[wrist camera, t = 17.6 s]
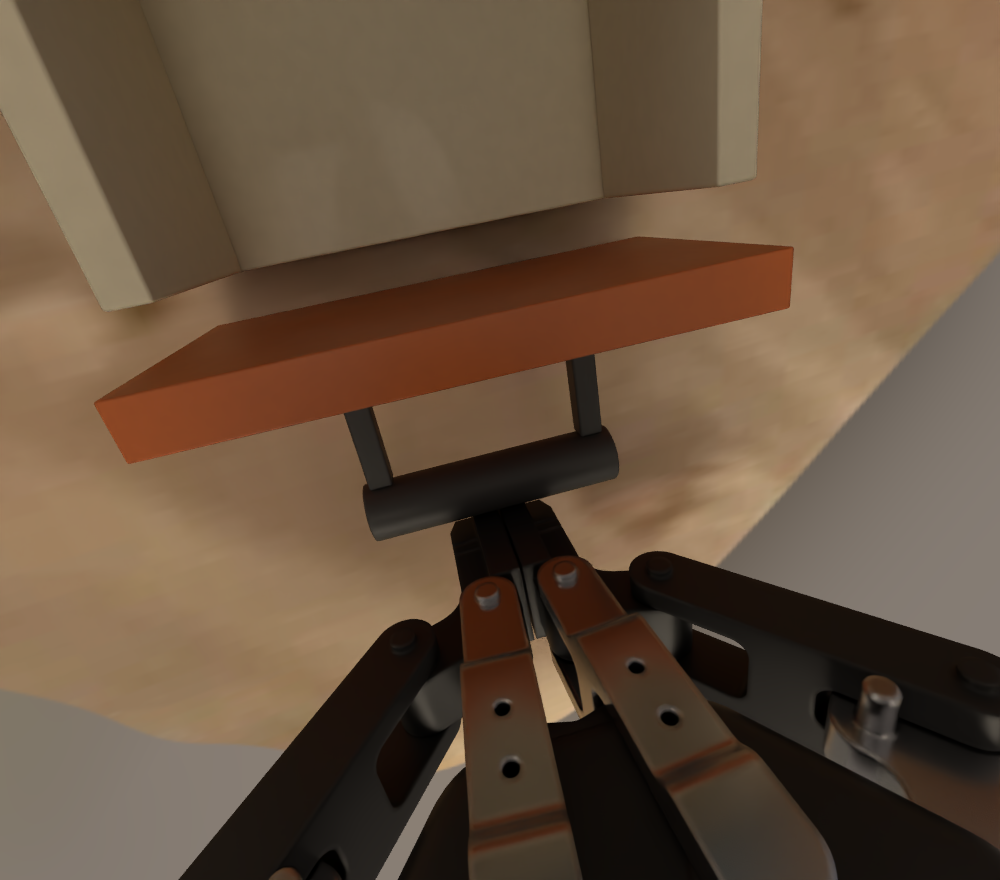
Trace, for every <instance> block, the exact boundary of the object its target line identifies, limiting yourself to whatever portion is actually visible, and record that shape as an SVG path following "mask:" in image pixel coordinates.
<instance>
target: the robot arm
mask: <svg viewBox="0 0 1000 880" xmlns="http://www.w3.org/2000/svg"><path fill="white" fill-rule="evenodd" d="M450 535H451V540H452V545H453V550H454V555H455V560H456V565H457V570H458V576H459V581H460V586H461V592H462V593H461V595H460V600H459V604H458V606H457V608H456V609H455V610H454V611H453V612H452V613H451V614H450V615H449V616H448V617H446V618H445V619H443V620H442V621H440V622H438V623H436V624H435V625H433V626H431V625H430V624H429V623H427V622H426V621H423V620H419V619H409V620H404V621H401V622H398V623H396V624H394V625H392V626H391V627H389V628H388V629H387V630H385V631H384V632H383V633H382V634H381V635H380V636H379V638H378V639H377V640H376V641H375V643H374V644H373V645H372V646H371V647H370V649H369V650H368V651H367V652H366V653H365V655H364V656H363V657H362V658H361V659H360V661H359V662H358V663H357V664H356V666H355V667H354V668H353V669H352V670H351V672H350V673H349V674H348V675H347V676H346V678H345V679H344V680H343V681H342V682H341V684H340V685H339V686H338V687H337V689H336V690H335V691H334V692H333V693H332V695H331V696H330V697H329V698H328V699H327V701H326V702H325V703H324V704H323V705H322V707H321V708H320V709H319V710H318V712H317V713H316V714H315V715H314V716H313V718H312V719H311V720H310V721H309V722H308V724H307V725H306V726H305V727H304V728H303V730H302V731H301V732H300V733H299V735H298V736H297V737H296V738H295V739H294V741H293V742H292V743H291V744H290V745H289V747H288V748H287V749H286V750H285V751H284V753H283V754H282V755H281V757H280V758H279V759H278V760H277V761H276V762H275V764H274V765H273V766H272V767H271V769H270V770H269V771H268V772H267V773H266V774H265V776H264V777H263V778H262V779H261V781H260V782H259V783H258V784H257V785H256V787H255V788H254V789H253V790H252V791H251V793H250V794H249V795H248V796H247V798H246V799H245V800H244V801H243V802H242V804H241V805H240V806H239V807H238V808H237V810H236V811H235V812H234V813H233V814H232V816H231V817H230V818H229V819H228V821H227V822H226V823H225V824H224V825H223V827H222V828H221V829H220V830H219V832H218V833H217V834H216V835H215V836H214V837H213V839H212V840H211V841H210V842H209V844H208V845H207V846H206V847H205V848H204V850H203V851H202V852H201V853H200V854H199V856H198V857H197V858H196V859H195V860H194V862H193V863H192V864H191V865H190V866H189V868H188V869H187V870H186V872H185V873H184V874H183V875H182V876H181V877H180V879H179V880H375V879H376V878H377V876H378V874H379V872H380V870H381V869H382V867H383V865H384V863H385V862H386V860H387V858H388V856H389V854H390V853H391V851H392V849H393V847H394V845H395V844H396V842H397V840H398V838H399V836H400V835H401V833H402V831H403V829H404V827H405V826H406V824H407V822H408V820H409V818H410V817H411V815H412V813H413V811H414V810H415V808H416V806H417V804H418V802H419V801H420V799H421V797H422V795H423V793H424V792H425V790H426V788H427V786H428V785H429V783H430V781H431V779H432V777H433V776H434V774H435V772H436V770H437V769H438V767H439V765H440V763H441V761H442V760H443V758H444V756H445V754H446V752H447V751H448V749H449V747H450V745H451V743H452V742H453V740H454V738H455V736H456V735H457V733H458V730H459V728H460V724H461V718H462V717H463V730H464V746H465V762H466V767H465V768H463V769H462V770H461V771H460V772H459V773H458V774H457V775H456V776H455V777H454V778H453V780H452V781H451V782H450V783H449V784H448V786H447V787H446V788H445V790H444V791H443V793H442V794H441V796H440V797H439V799H438V800H437V802H436V804H435V806H434V807H433V810H432V811H431V813H430V815H429V818H428V819H427V821H426V824H425V826H424V828H423V830H422V832H421V834H420V836H419V838H418V840H417V842H416V844H415V846H414V848H413V850H412V852H411V854H410V856H409V858H408V860H407V862H406V864H405V866H404V868H403V870H402V872H401V874H400V876H399V878H398V880H1000V657H998V656H995V655H993V654H990V653H988V652H986V651H983V650H980V649H977V648H974V647H970V646H967V645H964V644H961V643H958V642H955V641H951V640H948V639H945V638H942V637H938V636H935V635H932V634H929V633H926V632H923V631H919V630H916V629H913V628H910V627H907V626H903V625H900V624H897V623H894V622H891V621H887V620H884V619H881V618H878V617H875V616H871V615H868V614H865V613H862V612H859V611H855V610H852V609H849V608H846V607H842V606H839V605H836V604H833V603H829V602H826V601H823V600H820V599H817V598H814V597H810V596H807V595H804V594H800V593H798V592H794V591H791V590H788V589H785V588H782V587H778V586H775V585H772V584H769V583H765V582H762V581H759V580H756V579H752V578H749V577H746V576H743V575H740V574H737V573H733V572H730V571H727V570H724V569H721V568H717V567H714V566H711V565H708V564H705V563H701V562H698V561H695V560H692V559H689V558H685V557H682V556H679V555H676V554H673V553H669V552H663V551H653V552H647V553H644V554H641V555H639V556H638V557H636V558H635V559H634V560H633V561H632V562H631V564H630V567H629V571H602V570H597V569H594V568H593V566H592V565H591V564H590V563H589V562H588V561H587V560H585V559H583V558H581V557H579V556H578V554H577V552H576V551H575V549H574V547H573V545H572V544H571V542H570V540H569V538H568V536H567V535H566V533H565V531H564V529H563V528H562V527H561V524H560V522H559V521H558V519H557V517H556V515H555V513H554V512H553V510H552V508H551V507H550V506H549V505H547V504H545V503H544V502H542V501H540V500H535V501H532V502H528V503H521V504H517V505H513V506H510V507H506V508H502V509H498V510H495V511H491V512H487V513H483V514H480V515H476V516H472V518H468V519H464V520H460V521H456V522H455V524H454V526H453V529H452V531H451V533H450ZM531 624H532V625H531ZM692 624H694V625H697V626H699V627H702V628H705V629H707V630H710V631H712V632H715V633H717V634H720V635H723V636H725V637H727V638H730V639H732V640H734V641H736V642H737V643H739V644H740V645H741V646H742V647H743V648H744V649H745V650H743V649H741V648H739V647H736V646H734V645H731V644H729V643H726V642H724V641H721V640H719V639H716V638H714V637H711V636H709V635H706V634H704V633H701V632H699V631H696V630H694V629H692ZM532 626H533V629H534V632H535V635H536V638H537V639H538V638H541V637H545V636H546V637H547V640H548V642H549V645H550V650H551V655H552V661H553V663H554V666H555V668H556V670H557V672H558V674H559V676H560V678H561V680H562V682H563V685H564V687H565V689H566V691H567V693H568V695H569V697H570V699H571V701H572V704H573V706H574V708H575V710H576V712H577V714H578V716H579V718H580V719H579V720H577V721H572V722H557V723H547V721H546V717H545V712H544V708H543V704H542V699H541V695H540V690H539V686H538V682H537V677H536V673H535V668H534V664H533V654H532V649H531V644H530V641H532V640H534V635H533V630H532Z"/></svg>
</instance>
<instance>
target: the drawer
mask: <svg viewBox="0 0 1000 880" xmlns="http://www.w3.org/2000/svg"><path fill="white" fill-rule="evenodd" d="M762 3H763V0H0V110H1V112H2V114H3V116H4V118H5V120H6V122H7V124H8V126H9V128H10V130H11V132H12V134H13V136H14V138H15V140H16V141H17V143H18V145H19V147H20V149H21V151H22V153H23V155H24V157H25V159H26V161H27V163H28V165H29V167H30V169H31V171H32V173H33V175H34V177H35V179H36V181H37V183H38V185H39V187H40V189H41V190H42V192H43V194H44V196H45V198H46V200H47V202H48V204H49V206H50V208H51V210H52V212H53V214H54V216H55V218H56V220H57V222H58V224H59V226H60V228H61V230H62V232H63V234H64V236H65V238H66V239H67V241H68V243H69V245H70V247H71V249H72V251H73V253H74V255H75V257H76V259H77V261H78V263H79V265H80V267H81V269H82V271H83V273H84V275H85V277H86V279H87V281H88V283H89V285H90V287H91V289H92V290H93V292H94V294H95V296H96V298H97V300H98V302H99V304H100V306H101V308H102V309H103V311H107V312H110V311H115V310H120V309H125V308H130V307H134V306H139V305H144V304H149V303H153V302H156V301H159V300H162V299H164V298H167V297H170V296H173V295H176V294H179V293H182V292H184V291H187V290H190V289H193V288H196V287H199V286H202V285H205V284H207V283H210V282H213V281H216V280H219V279H222V278H225V277H227V276H230V275H233V274H236V273H239V272H243V271H247V270H252V269H257V268H262V267H267V266H272V265H277V264H282V263H287V262H292V261H297V260H302V259H307V258H312V257H317V256H322V255H327V254H332V253H337V252H341V251H346V250H351V249H356V248H361V247H366V246H371V245H376V244H381V243H386V242H391V241H396V240H401V239H406V238H411V237H416V236H421V235H426V234H431V233H435V232H440V231H445V230H450V229H455V228H460V227H465V226H470V225H475V224H480V223H485V222H490V221H495V220H500V219H505V218H510V217H515V216H520V215H524V214H529V213H534V212H539V211H544V210H549V209H554V208H559V207H564V206H569V205H574V204H579V203H584V202H589V201H594V200H599V199H604V198H612V197H622V196H632V195H642V194H652V193H662V192H672V191H682V190H692V189H702V188H711V187H720V186H725V185H730V184H735V183H740V182H745V181H750V180H753V179H754V178H756V172H757V144H758V115H759V87H760V59H761V31H762ZM793 252H794V248H793V247H789V246H774V245H759V244H744V243H729V242H714V241H698V240H683V239H668V238H653V237H633V238H628V239H624V240H619V241H614V242H610V243H605V244H600V245H595V246H591V247H586V248H581V249H577V250H572V251H567V252H562V253H558V254H553V255H548V256H544V257H539V258H534V259H529V260H525V261H520V262H515V263H511V264H506V265H501V266H496V267H492V268H487V269H482V270H478V271H473V272H468V273H464V274H459V275H454V276H449V277H445V278H440V279H435V280H431V281H426V282H421V283H416V284H412V285H407V286H402V287H398V288H393V289H388V290H383V291H379V292H374V293H369V294H365V295H360V296H355V297H350V298H346V299H341V300H336V301H332V302H327V303H322V304H317V305H313V306H308V307H303V308H299V309H294V310H289V311H285V312H280V313H275V314H270V315H266V316H261V317H256V318H252V319H247V320H242V321H237V322H233V323H228V324H223V325H219V326H217V327H215V328H214V329H212V330H210V331H209V332H207V333H205V334H204V335H202V336H201V337H199V338H197V339H196V340H194V341H193V342H191V343H189V344H188V345H186V346H184V347H183V348H181V349H180V350H178V351H176V352H175V353H173V354H171V355H170V356H168V357H167V358H165V359H163V360H162V361H160V362H159V363H157V364H155V365H154V366H152V367H150V368H149V369H147V370H146V371H144V372H142V373H141V374H139V375H137V376H136V377H134V378H133V379H131V380H129V381H128V382H126V383H125V384H123V385H121V386H120V387H118V388H116V389H115V390H113V391H112V392H110V393H108V394H107V395H105V396H103V397H102V398H100V399H99V400H97V401H96V402H94V405H95V407H96V408H97V410H98V412H99V414H100V416H101V417H102V419H103V421H104V423H105V424H106V426H107V428H108V430H109V432H110V433H111V435H112V437H113V439H114V441H115V442H116V444H117V446H118V448H119V449H120V451H121V453H122V455H123V457H124V458H125V460H126V462H127V463H128V464H131V463H136V462H140V461H144V460H148V459H153V458H157V457H161V456H165V455H169V454H174V453H178V452H182V451H186V450H191V449H195V448H199V447H203V446H208V445H212V444H216V443H220V442H224V441H229V440H233V439H237V438H241V437H246V436H250V435H254V434H258V433H263V432H267V431H271V430H275V429H279V428H284V427H288V426H292V425H296V424H301V423H305V422H309V421H313V420H318V419H322V418H326V417H330V416H334V415H339V414H343V413H344V416H345V419H346V422H347V425H348V428H349V430H350V433H351V436H352V439H353V442H354V445H355V448H356V451H357V454H358V457H359V460H360V463H361V466H362V469H363V472H364V475H365V478H366V481H367V484H365V485H364V486H363V502H364V508H365V513H366V517H367V521H368V524H369V527H370V530H371V532H372V535H373V536H374V538H375V540H376V541H382V540H385V539H389V538H393V537H397V536H400V535H404V534H408V533H412V532H415V531H419V530H423V529H427V528H431V527H434V526H438V525H442V524H446V523H449V522H453V521H457V520H461V519H464V518H468V517H472V516H476V515H480V514H483V513H487V512H491V511H495V510H498V509H502V508H506V507H510V506H513V505H517V504H521V503H525V502H529V501H532V500H536V499H540V498H544V497H547V496H551V495H555V494H559V493H562V492H566V491H570V490H574V489H578V488H581V487H585V486H589V485H593V484H596V483H600V482H604V481H608V480H611V479H615V478H616V477H617V476H618V473H619V460H618V454H617V450H616V446H615V443H614V441H613V439H612V436H611V434H610V433H609V431H608V430H607V428H606V427H604V426H603V425H601V416H600V406H599V396H598V386H597V376H596V366H595V356H594V354H597V353H601V352H605V351H609V350H614V349H618V348H622V347H626V346H631V345H635V344H639V343H643V342H647V341H652V340H656V339H660V338H664V337H669V336H673V335H677V334H681V333H686V332H690V331H694V330H698V329H702V328H707V327H711V326H715V325H719V324H724V323H728V322H732V321H736V320H741V319H745V318H749V317H753V316H757V315H762V314H766V313H770V312H774V311H779V310H783V309H787V308H789V307H790V296H791V281H792V267H793ZM563 361H566V367H567V375H568V383H569V391H570V399H571V407H572V415H573V423H574V429H575V430H576V431H575V432H571V433H567V434H563V435H559V436H555V437H551V438H547V439H543V440H539V441H535V442H531V443H527V444H523V445H519V446H515V447H511V448H507V449H504V450H500V451H496V452H492V453H488V454H484V455H480V456H476V457H472V458H468V459H464V460H460V461H456V462H452V463H448V464H444V465H440V466H436V467H432V468H428V469H424V470H420V471H416V472H412V473H408V474H405V475H401V476H397V477H393V473H392V470H391V466H390V463H389V460H388V457H387V453H386V450H385V447H384V444H383V440H382V437H381V434H380V431H379V427H378V424H377V421H376V418H375V414H374V411H373V408H372V407H373V406H377V405H381V404H385V403H389V402H394V401H398V400H402V399H406V398H411V397H415V396H419V395H423V394H428V393H432V392H436V391H440V390H444V389H449V388H453V387H457V386H461V385H466V384H470V383H474V382H478V381H483V380H487V379H491V378H495V377H499V376H504V375H508V374H512V373H516V372H521V371H525V370H529V369H533V368H538V367H542V366H546V365H550V364H554V363H559V362H563Z"/></svg>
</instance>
